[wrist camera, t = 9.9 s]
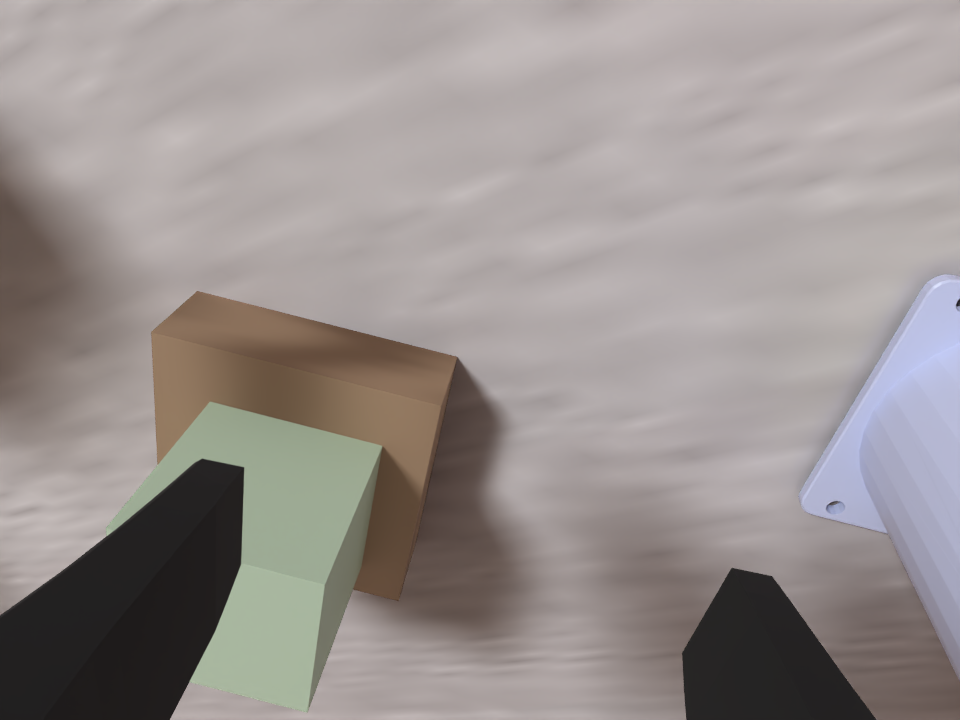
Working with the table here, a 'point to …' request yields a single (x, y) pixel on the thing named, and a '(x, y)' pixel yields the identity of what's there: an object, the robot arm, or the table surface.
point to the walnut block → (313, 402)
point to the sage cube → (279, 546)
